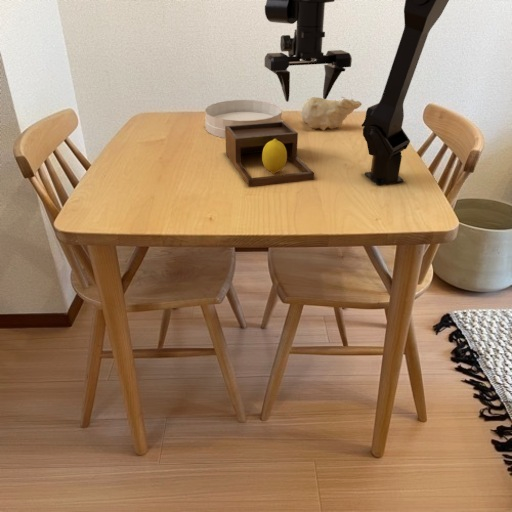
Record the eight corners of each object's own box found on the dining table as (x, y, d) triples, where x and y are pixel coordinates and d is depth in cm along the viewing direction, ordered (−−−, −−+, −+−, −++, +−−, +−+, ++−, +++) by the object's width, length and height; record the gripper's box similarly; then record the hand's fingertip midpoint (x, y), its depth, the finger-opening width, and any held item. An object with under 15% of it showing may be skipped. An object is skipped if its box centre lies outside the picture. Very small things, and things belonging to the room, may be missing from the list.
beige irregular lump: (289, 134, 138) (319, 111, 125) (288, 111, 140) (318, 85, 127) (332, 144, 145) (365, 123, 132) (331, 122, 147) (363, 99, 134)
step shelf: (313, 179, 106) (316, 148, 102) (248, 186, 102) (248, 155, 98) (282, 148, 123) (283, 121, 119) (225, 153, 119) (225, 125, 116)
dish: (213, 142, 126) (212, 123, 124) (199, 119, 144) (198, 102, 142) (292, 135, 131) (293, 117, 129) (269, 114, 150) (269, 97, 147)
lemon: (286, 169, 111) (288, 135, 106) (285, 178, 106) (287, 143, 102) (262, 168, 111) (263, 134, 107) (260, 177, 106) (261, 142, 102)
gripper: (335, 20, 111) (330, 89, 119) (258, 22, 107) (258, 94, 115) (356, 25, 102) (348, 100, 110) (272, 28, 98) (270, 106, 106)
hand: (305, 100), depth 111 cm, fingers open, 9 cm apart
